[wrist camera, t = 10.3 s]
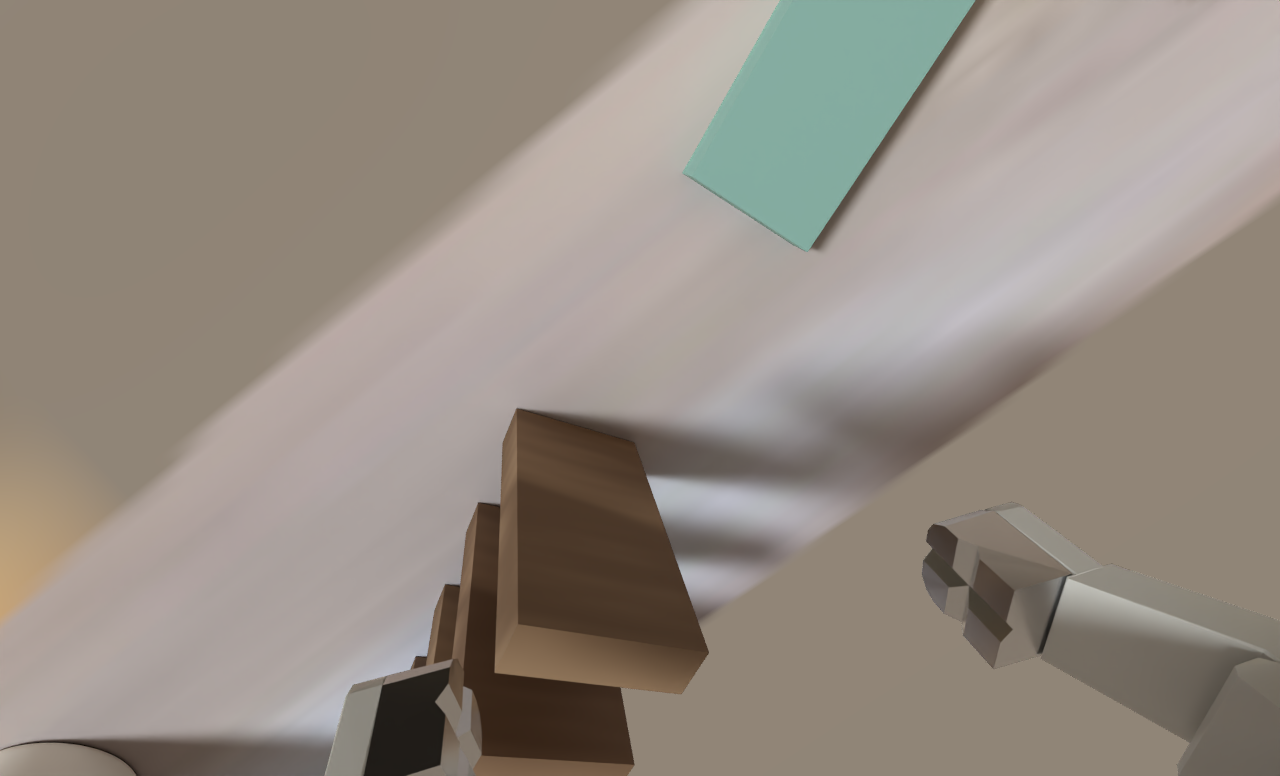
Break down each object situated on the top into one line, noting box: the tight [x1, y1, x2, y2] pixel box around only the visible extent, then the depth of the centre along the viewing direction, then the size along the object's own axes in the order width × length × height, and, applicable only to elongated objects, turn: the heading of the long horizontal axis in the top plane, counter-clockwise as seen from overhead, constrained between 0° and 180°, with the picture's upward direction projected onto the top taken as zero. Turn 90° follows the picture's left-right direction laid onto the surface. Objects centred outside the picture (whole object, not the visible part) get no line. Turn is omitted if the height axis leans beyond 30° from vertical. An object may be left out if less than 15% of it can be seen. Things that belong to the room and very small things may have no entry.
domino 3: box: [683, 0, 975, 252], centre depth 18 cm, size 2×5×10 cm
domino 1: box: [495, 409, 709, 694], centre depth 18 cm, size 2×5×10 cm, turn 65°
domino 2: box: [452, 503, 634, 776], centre depth 19 cm, size 2×5×10 cm, turn 65°
